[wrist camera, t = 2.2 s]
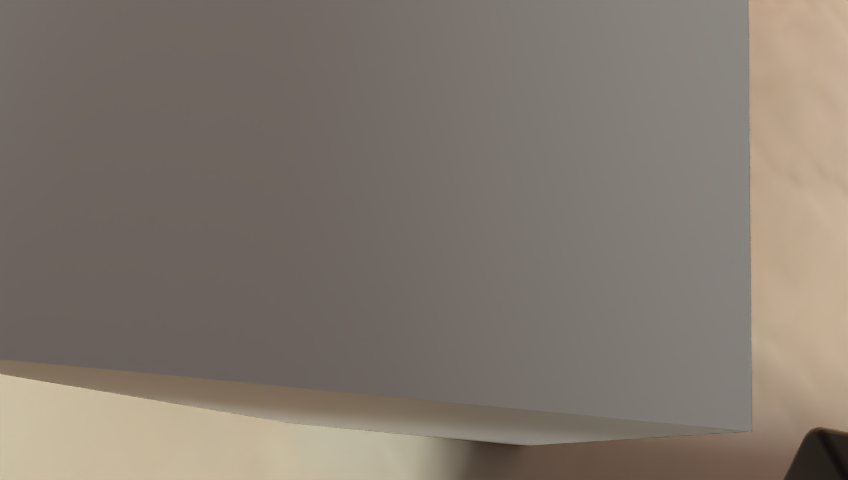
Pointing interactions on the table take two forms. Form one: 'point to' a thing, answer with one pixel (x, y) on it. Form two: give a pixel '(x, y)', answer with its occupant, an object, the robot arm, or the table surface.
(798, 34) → the table surface
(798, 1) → the table surface
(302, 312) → the tall grey pillar block
